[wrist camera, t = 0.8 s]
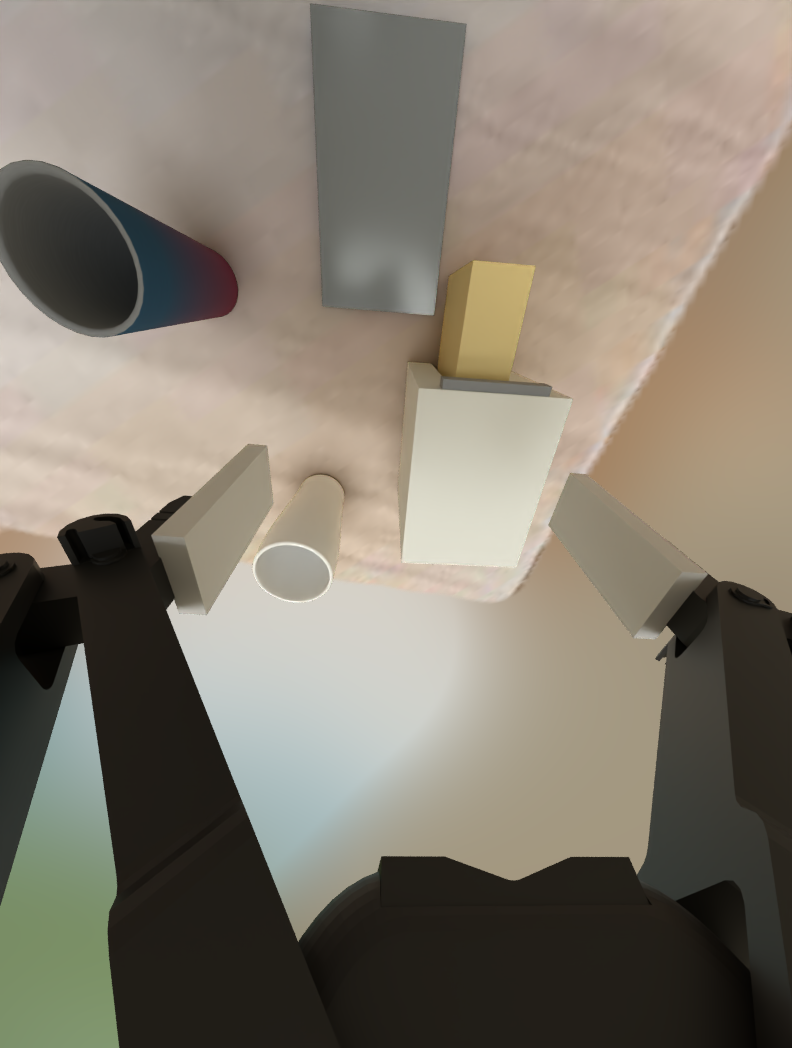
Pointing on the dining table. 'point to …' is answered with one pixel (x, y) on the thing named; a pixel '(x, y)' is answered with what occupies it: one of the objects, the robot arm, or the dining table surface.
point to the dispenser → (473, 465)
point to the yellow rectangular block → (483, 319)
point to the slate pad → (383, 154)
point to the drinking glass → (303, 543)
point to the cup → (103, 257)
